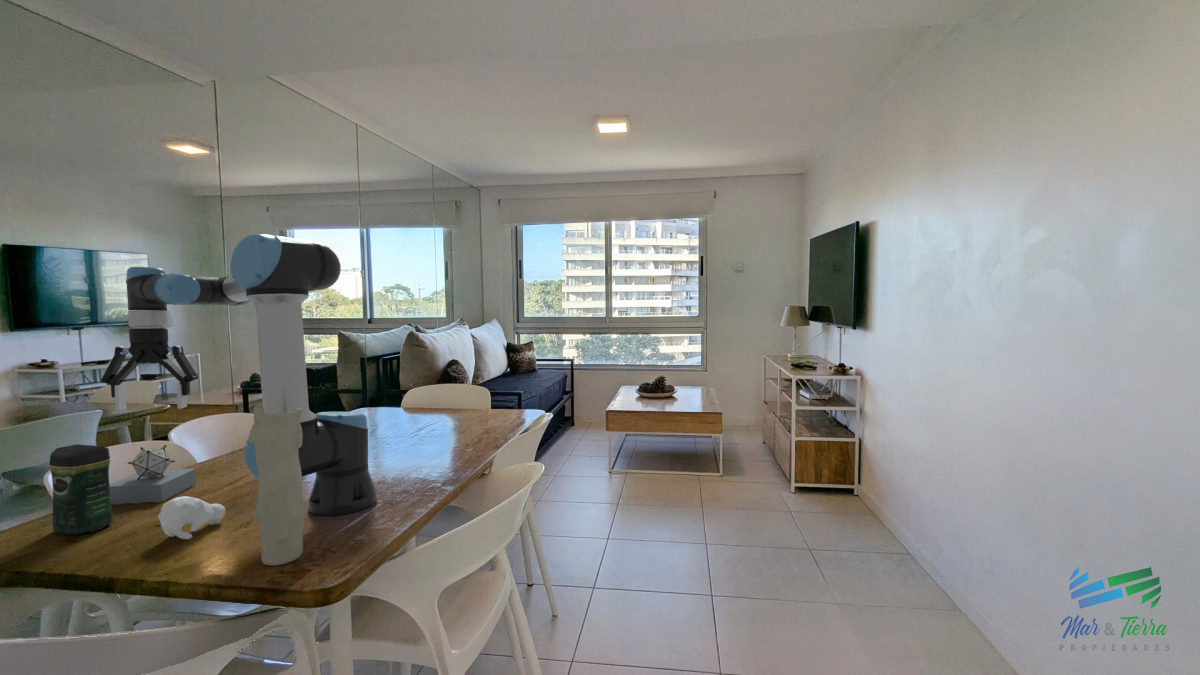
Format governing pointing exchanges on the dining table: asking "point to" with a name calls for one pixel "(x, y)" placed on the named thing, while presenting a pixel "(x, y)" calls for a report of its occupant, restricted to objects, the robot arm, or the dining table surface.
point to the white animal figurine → (188, 515)
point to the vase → (279, 484)
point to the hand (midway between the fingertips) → (152, 409)
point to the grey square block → (151, 486)
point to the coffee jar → (80, 488)
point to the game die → (151, 462)
